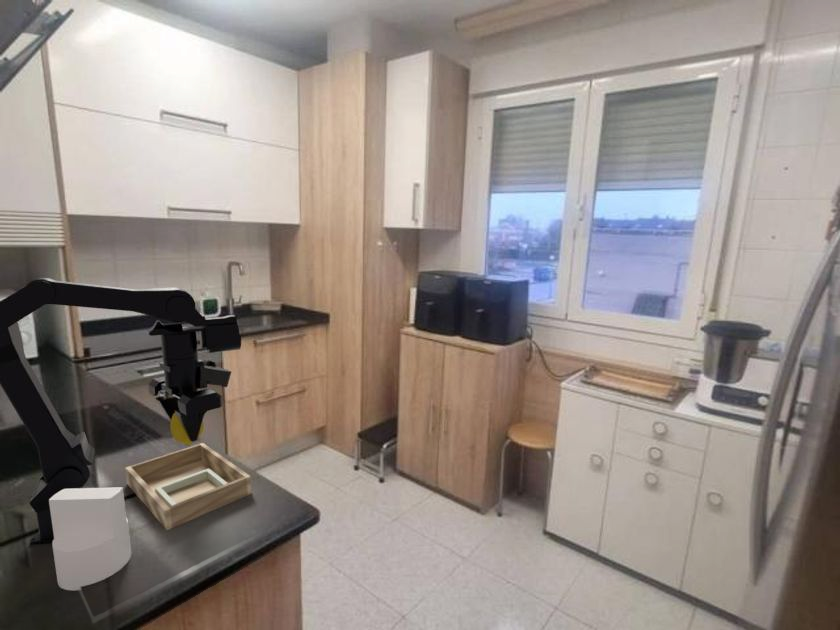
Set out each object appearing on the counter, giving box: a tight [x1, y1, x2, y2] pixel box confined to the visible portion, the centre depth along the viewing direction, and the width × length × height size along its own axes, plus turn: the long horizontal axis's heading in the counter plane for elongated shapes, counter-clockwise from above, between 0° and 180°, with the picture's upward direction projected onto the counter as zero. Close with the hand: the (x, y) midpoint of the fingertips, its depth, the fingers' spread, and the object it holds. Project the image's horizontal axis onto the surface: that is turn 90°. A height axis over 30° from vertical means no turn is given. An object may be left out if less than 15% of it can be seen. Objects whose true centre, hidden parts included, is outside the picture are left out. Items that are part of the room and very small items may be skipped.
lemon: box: [169, 412, 204, 447], centre depth 83 cm, size 6×6×8 cm
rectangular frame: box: [155, 468, 227, 507], centre depth 85 cm, size 10×10×2 cm
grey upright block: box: [49, 486, 132, 591], centre depth 65 cm, size 9×9×12 cm
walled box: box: [124, 442, 253, 531], centre depth 86 cm, size 22×15×4 cm
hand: (187, 436), depth 84 cm, fingers closed on lemon, 5 cm apart
